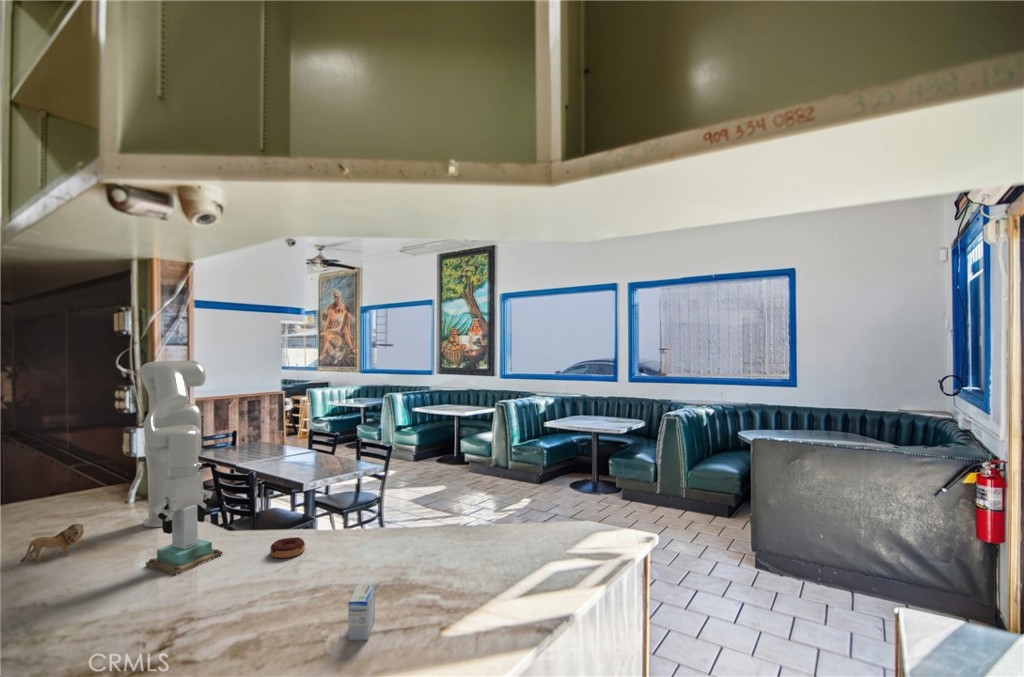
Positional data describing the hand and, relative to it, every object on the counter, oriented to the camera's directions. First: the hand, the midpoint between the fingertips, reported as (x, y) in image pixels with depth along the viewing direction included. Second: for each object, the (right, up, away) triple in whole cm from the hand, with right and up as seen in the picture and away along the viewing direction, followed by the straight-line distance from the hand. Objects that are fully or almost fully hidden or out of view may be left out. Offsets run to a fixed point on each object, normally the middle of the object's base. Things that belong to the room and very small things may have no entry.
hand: (184, 527), depth 150 cm
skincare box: (0, -6, 0) cm, 6 cm away
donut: (+29, -10, +5) cm, 31 cm away
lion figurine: (-43, -11, +4) cm, 45 cm away
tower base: (0, -10, 0) cm, 10 cm away
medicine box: (+65, -10, -37) cm, 75 cm away
